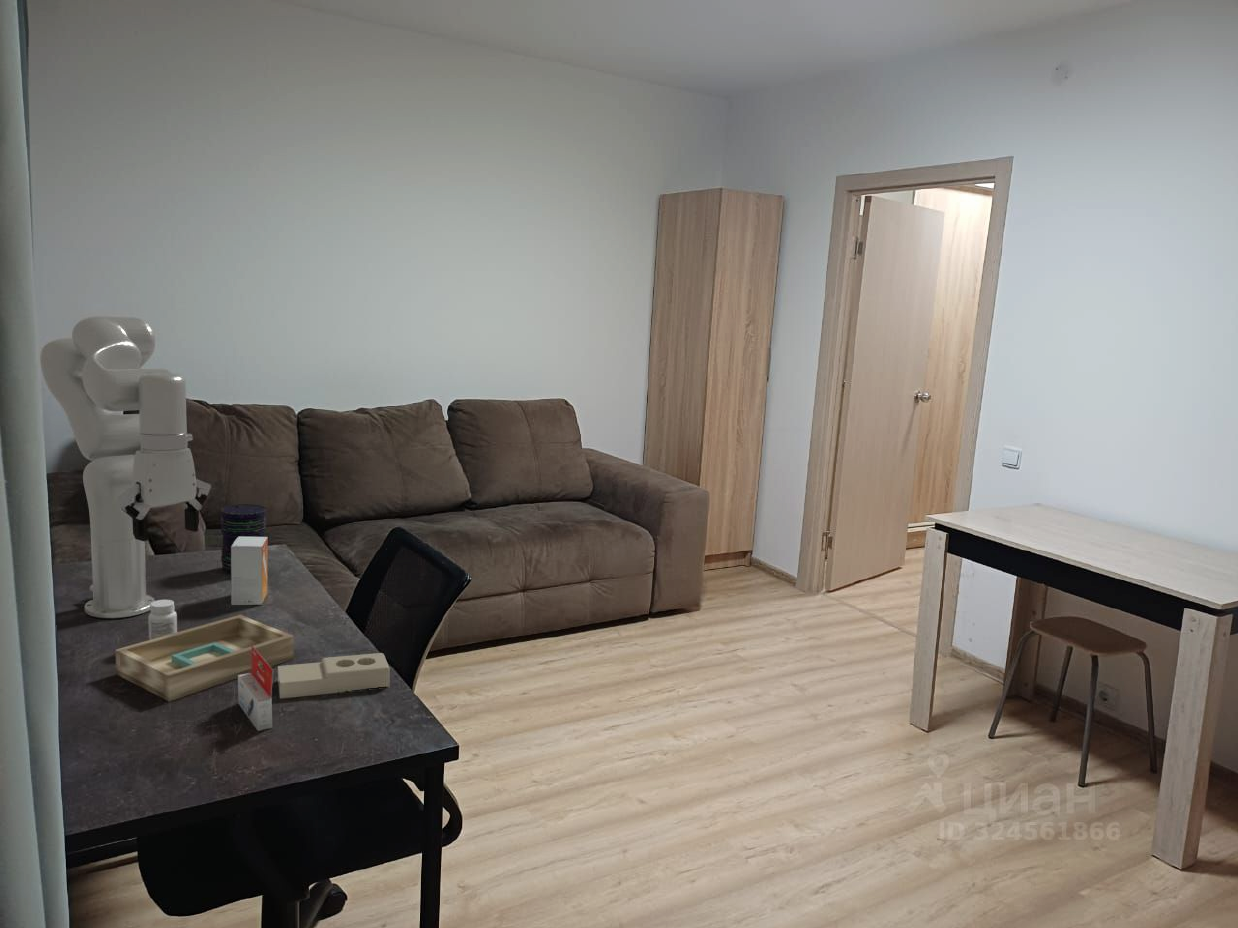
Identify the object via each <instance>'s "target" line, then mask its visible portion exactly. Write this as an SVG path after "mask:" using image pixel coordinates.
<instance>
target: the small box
mask: <svg viewBox="0 0 1238 928" xmlns="http://www.w3.org/2000/svg"><path fill="white" fill-rule="evenodd" d="M268 538H269V537H268V536H265V537H241V536H239V537H238V538H237V539H236V540H235V541H234V543H233V545H232V546H231V576H230V578H231V593H230V594H231V595H230V597H231V600H230V601H231V603H230V604H231V605H232V606H260V605H263V603H264V600H265V598H266V597H267V595H268V550H269V549H268V547H269V545H268V543H269V542H268V541H269V539H268Z"/></svg>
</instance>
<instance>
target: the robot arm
mask: <svg viewBox="0 0 1238 928" xmlns="http://www.w3.org/2000/svg"><path fill="white" fill-rule="evenodd" d="M155 348H156V337H155V332H154V330H153V328H152V327H151V325H150V324H149V322H147V321H146V320H144V319H142V318H140V317H130V316H129V317H127V316H125V317H124V316H122V317H121V316H91V317H87V318H84V319H81V320H79V321H78V322H77V323H76V324H75V325H74V327H73V329H72V333H71V337H68V338H66V337H65V338H58V339H55V340H51V341H49V342H47V343H46V344H44V346H43V347H42V349H41V352H40V359H39V360H40V368H41V372H42V373H41V374H42V377H43V379H44V382H45V384H46V386H47V388H48V389H49V392H50V393H51V394H52V396H53V397H54V399H55V400H56V401H57V402H58V404H59V405H60V407H61V408H62V409H63V411H64V412H65V414H66V417H67V420H68V423H69V425H70V428H71V431H72V433H73V436H74V438H75V441H76V444H77V446H78V448H79V451H80V453H81V455H82V456H83V457H84V458H86V459H87V460H88V461H91V462H89V463H88V464H87V465H86V466H85V468H84V470H83V474H82V480H83V487H84V491H85V495H86V501H87V506H88V511H89V512H88V513H89V523H90V524H89V525H90V551H91V576H92V584H91V585H90V586H89V590H90V591H91V592H92V598H93V599H91V600H88V601H87V602H86V603H85V605H84V612H85V614H87V615H88V616H91V617H94V618H100V619H119V618H127V617H134V616H138V615H141V614H144V613H146V612H149V611H150V604H151V603H152V602H154V601H156V600H155V598H154V597H152V596H151V595H148V594H147V580H146V579H147V578H146V576H147V574H146V546H145V543H146V542H148V540H149V529H148V526H149V524H148V519H147V518H145V517H146V516H147V514H148V512H149V511H150V509H152V508H160V507H167V506H171V505H178V504H184V505H185V506H186V508H184V512H183V513H184V529H185V530H186V531H190V532H193V533H195V532H197V533H198V531H199V525H200V512H199V511H200V510H201V509H202V508H203V504H204V503H205V502H206V501H207V499H208V495H209V492H211V491H210V490H211V488H212V485H211V484H210V483H207V482H205V481H203V480H200V479H197V477H196V469H195V468H196V467H195V463H194V458H193V454H192V451H191V448H190V447H189V448H188V445H189V443H188V442H191V441H193V439H194V437H193V434H192V433H188V430H187V428H188V427H187V424H188V423H187V393H186V392H187V391H186V390H187V389H186V387H187V386H186V380H185V378H184V377H183V376H182V375H180V374H178V373H173V372H172V371H170V370H168V369H162V368H142V367H143V366H144V365H145V364H146V363H147V362H148V361H149V359H151V358H152V355H153V354H154V350H156V349H155ZM124 411H125V412H127V411H128V412H129V411H139V412H138V413H131V414H130V413H129V414H126V413H125V414H121V413H117V412H124ZM197 488H198V489H199V490H198V493H197ZM132 504H134V505H132Z"/></svg>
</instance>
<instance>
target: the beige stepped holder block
mask: <svg viewBox="0 0 1238 928" xmlns="http://www.w3.org/2000/svg"><path fill="white" fill-rule="evenodd" d="M390 670H391V669H390V665H389V664H388V662H387V658H386V656H385V654H384V653H382V652H377V653H375V652H374V653H368V654H367V653H365V654H364V653H363V654H353V655H344V656H341V655H340V656H332V657H330V656H329V657H324V658H322V659H321V662H320V661H319V662H310V663H298V664H287V665H286V664H285V665H277V686H278V693H279V699H288V698H289V699H290V698H298V697H308V696H317V695H327V694H329V695H330V694H337V693H338V692H339V693H346V692H345V691H349V692H352V691H351V690H358V689H365V688H366V689H367V688H377V687H385V686H386V687H388V686H389V687H390V675H391V674H390V673H391V672H390ZM389 687H388V688H389Z"/></svg>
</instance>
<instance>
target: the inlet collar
mask: <svg viewBox="0 0 1238 928" xmlns="http://www.w3.org/2000/svg"><path fill="white" fill-rule="evenodd" d="M213 651H214V652H217V653H219V654H221V655H225V654H229V653H232V652H235V650H233V649H230V648H228V647H226V646H223V645H221V644H219V643H216V642H214V643H210V644H207V645H204V646H201V647H197V648H194V649H191V650H187V651H184V652H181V653H177V654H174V655H171V661H172V662H173V663H175V664H178V665H180V666H182V667H187V666H191V665H194V664H197V663H196V662H194V661H192V660H189V659H190V658H193V657H196V656H200V655H203V654H206V653H209V652H213Z"/></svg>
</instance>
